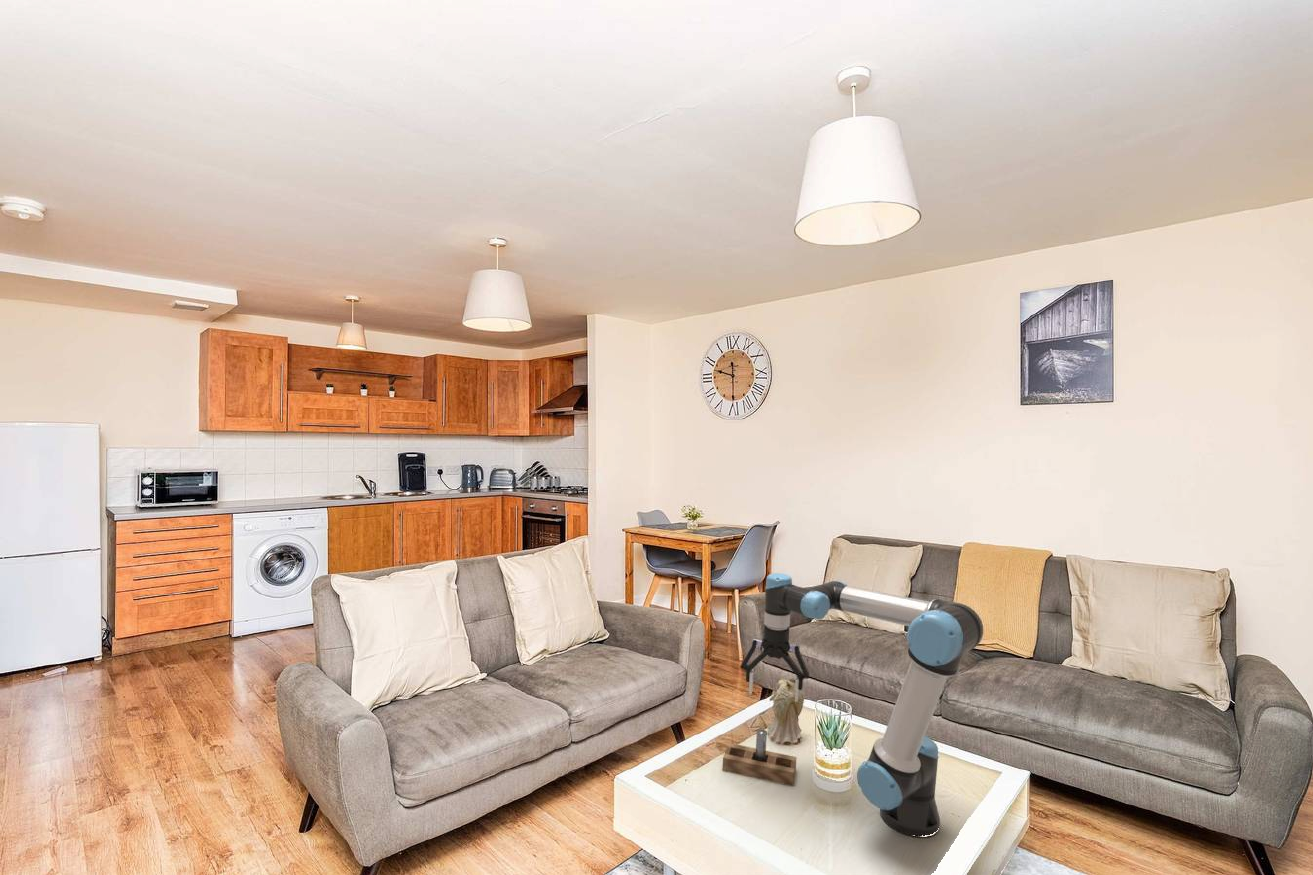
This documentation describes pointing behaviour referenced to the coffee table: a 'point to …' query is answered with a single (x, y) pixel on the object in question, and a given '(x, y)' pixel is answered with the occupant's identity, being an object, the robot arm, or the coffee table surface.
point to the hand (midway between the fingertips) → (773, 696)
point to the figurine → (786, 714)
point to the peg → (761, 745)
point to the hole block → (759, 764)
